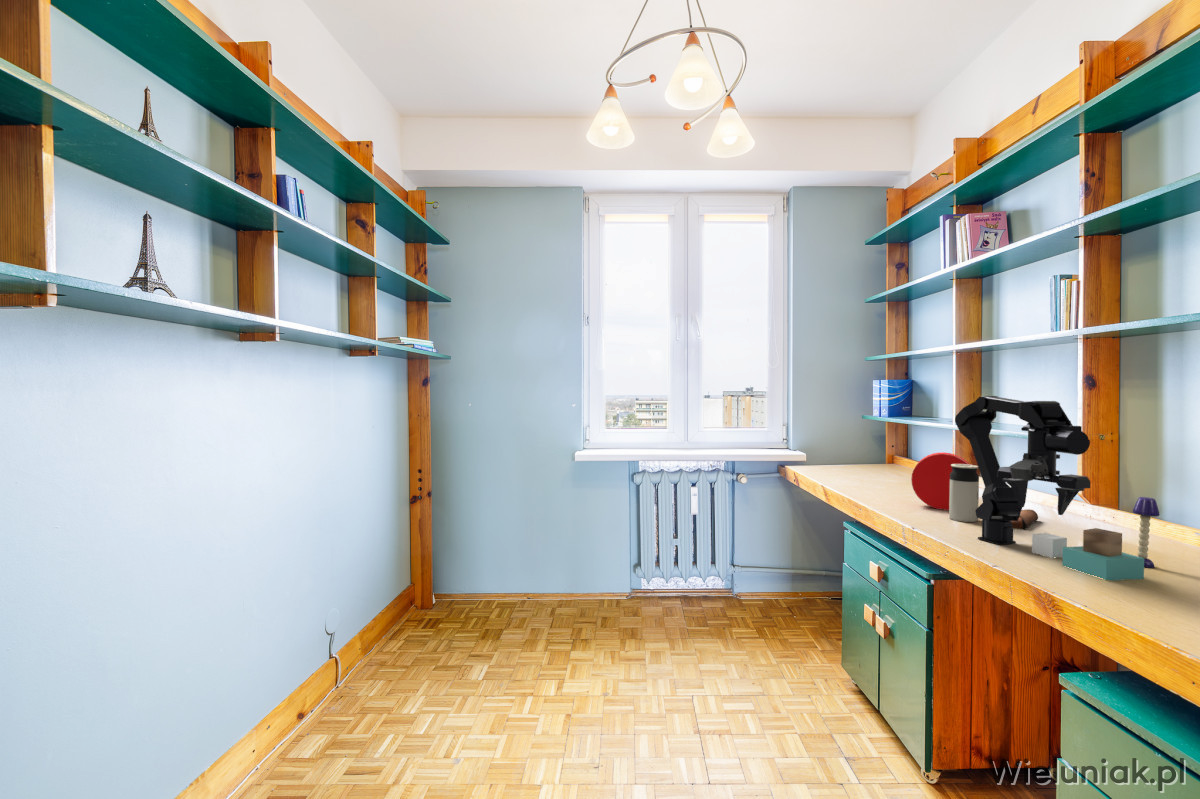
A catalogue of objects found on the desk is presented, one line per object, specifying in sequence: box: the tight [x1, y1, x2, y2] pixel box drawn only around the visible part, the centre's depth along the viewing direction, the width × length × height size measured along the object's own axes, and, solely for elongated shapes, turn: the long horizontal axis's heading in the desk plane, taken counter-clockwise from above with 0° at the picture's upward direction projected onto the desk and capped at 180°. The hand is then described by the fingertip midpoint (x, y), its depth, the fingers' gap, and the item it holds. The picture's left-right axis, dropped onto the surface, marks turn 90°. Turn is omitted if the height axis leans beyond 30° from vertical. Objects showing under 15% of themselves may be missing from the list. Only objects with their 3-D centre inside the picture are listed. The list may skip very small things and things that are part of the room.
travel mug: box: [948, 464, 980, 523], centre depth 179 cm, size 8×8×18 cm
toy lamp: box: [1132, 496, 1160, 569], centre depth 133 cm, size 5×5×17 cm
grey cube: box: [1031, 532, 1068, 559], centre depth 141 cm, size 5×5×5 cm
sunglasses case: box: [1012, 508, 1039, 531], centre depth 174 cm, size 18×7×7 cm
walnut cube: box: [1082, 527, 1123, 557], centre depth 128 cm, size 5×5×5 cm
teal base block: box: [1061, 545, 1145, 581], centre depth 128 cm, size 10×10×5 cm
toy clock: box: [910, 452, 971, 511], centre depth 196 cm, size 20×6×20 cm, turn 56°
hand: (1040, 510), depth 139 cm, fingers open, 9 cm apart
